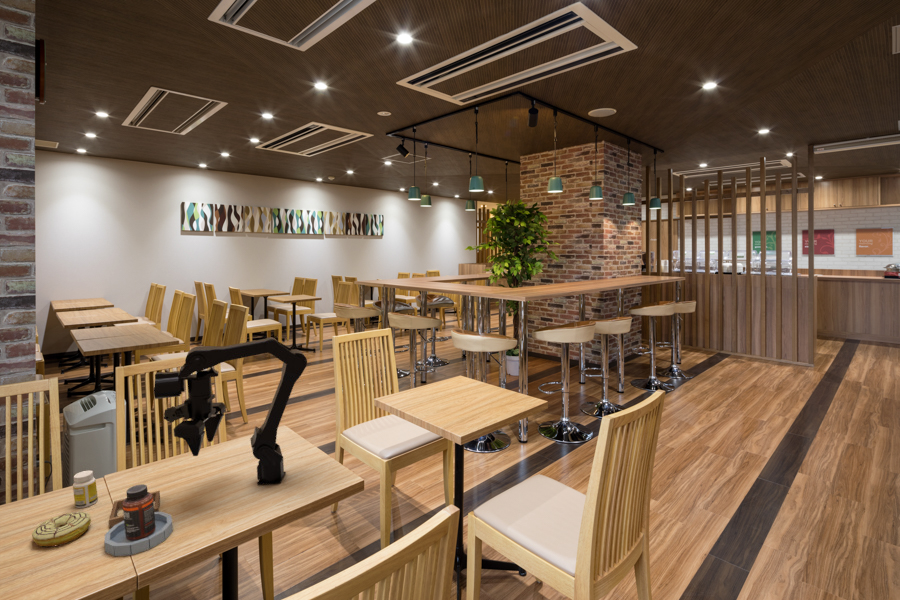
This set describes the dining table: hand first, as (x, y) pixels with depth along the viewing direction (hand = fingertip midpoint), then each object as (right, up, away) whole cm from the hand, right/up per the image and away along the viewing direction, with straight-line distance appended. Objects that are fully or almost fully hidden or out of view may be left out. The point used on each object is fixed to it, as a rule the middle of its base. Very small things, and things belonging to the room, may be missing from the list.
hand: (203, 448), depth 124 cm
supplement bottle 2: (-5, -15, -18) cm, 24 cm away
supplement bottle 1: (-30, -14, -3) cm, 33 cm away
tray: (-13, -14, -8) cm, 21 cm away
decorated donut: (-24, -16, -17) cm, 33 cm away
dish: (-5, -15, -18) cm, 24 cm away
